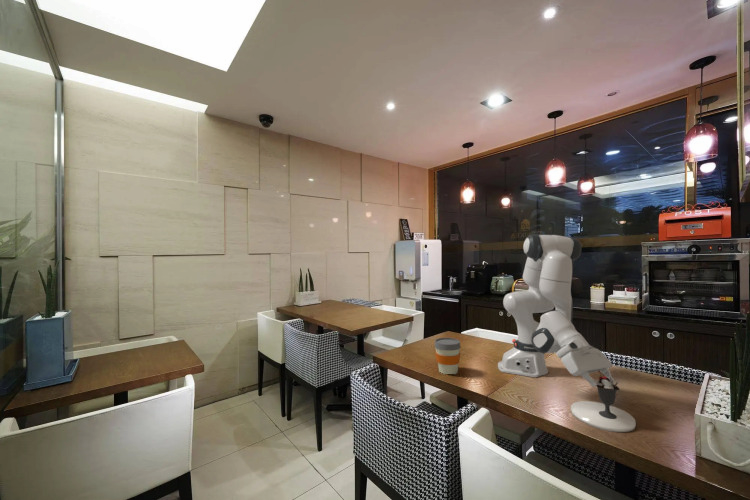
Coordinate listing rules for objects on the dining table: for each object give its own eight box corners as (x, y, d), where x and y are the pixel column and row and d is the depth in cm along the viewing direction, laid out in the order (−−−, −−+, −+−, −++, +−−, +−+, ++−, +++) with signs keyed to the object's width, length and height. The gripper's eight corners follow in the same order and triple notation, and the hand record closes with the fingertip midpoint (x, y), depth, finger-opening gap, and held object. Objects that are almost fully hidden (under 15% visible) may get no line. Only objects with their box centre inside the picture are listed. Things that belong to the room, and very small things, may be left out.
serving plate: (579, 427, 99) (579, 423, 99) (565, 401, 116) (564, 398, 116) (647, 436, 94) (647, 432, 94) (621, 408, 111) (621, 404, 111)
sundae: (590, 410, 107) (589, 368, 107) (608, 409, 107) (607, 367, 108) (606, 421, 100) (604, 375, 101) (625, 419, 101) (623, 374, 101)
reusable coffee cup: (451, 378, 140) (450, 346, 141) (430, 371, 150) (429, 341, 150) (466, 371, 149) (465, 340, 149) (445, 364, 158) (444, 336, 158)
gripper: (586, 349, 120) (613, 383, 111) (552, 354, 112) (579, 392, 103) (598, 341, 116) (628, 376, 107) (564, 345, 108) (593, 384, 99)
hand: (604, 384), depth 105 cm, fingers open, 8 cm apart
